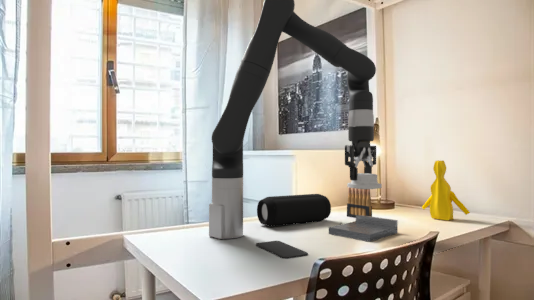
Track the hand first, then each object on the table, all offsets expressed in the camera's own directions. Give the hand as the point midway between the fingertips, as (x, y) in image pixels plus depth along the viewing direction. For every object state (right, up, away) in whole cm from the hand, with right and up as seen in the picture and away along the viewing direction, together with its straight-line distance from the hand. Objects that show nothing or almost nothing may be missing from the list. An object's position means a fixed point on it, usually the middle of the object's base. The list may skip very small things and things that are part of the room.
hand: (361, 179), depth 112 cm
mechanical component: (+1, -3, -1) cm, 3 cm away
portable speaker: (-19, -17, +17) cm, 31 cm away
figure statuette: (+37, -17, +25) cm, 48 cm away
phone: (-25, -17, -19) cm, 36 cm away
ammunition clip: (+6, -17, +28) cm, 33 cm away
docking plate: (+1, -17, +1) cm, 17 cm away
